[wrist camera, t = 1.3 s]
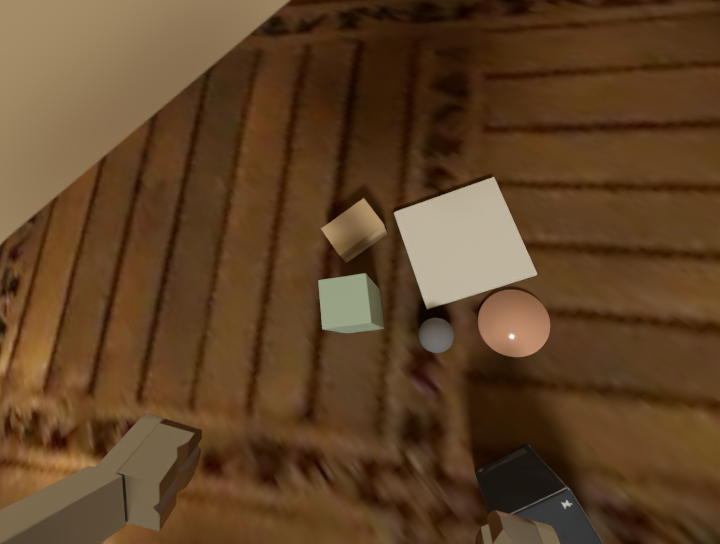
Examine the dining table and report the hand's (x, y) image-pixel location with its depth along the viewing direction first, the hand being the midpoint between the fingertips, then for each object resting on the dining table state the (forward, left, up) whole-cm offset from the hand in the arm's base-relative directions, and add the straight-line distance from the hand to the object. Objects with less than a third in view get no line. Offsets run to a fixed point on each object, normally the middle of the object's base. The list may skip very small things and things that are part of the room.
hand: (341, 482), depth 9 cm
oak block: (+1, -18, -29) cm, 34 cm away
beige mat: (-10, -13, -29) cm, 33 cm away
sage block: (+3, -9, -29) cm, 30 cm away
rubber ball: (-4, -4, -27) cm, 28 cm away
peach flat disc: (-12, -3, -29) cm, 32 cm away
